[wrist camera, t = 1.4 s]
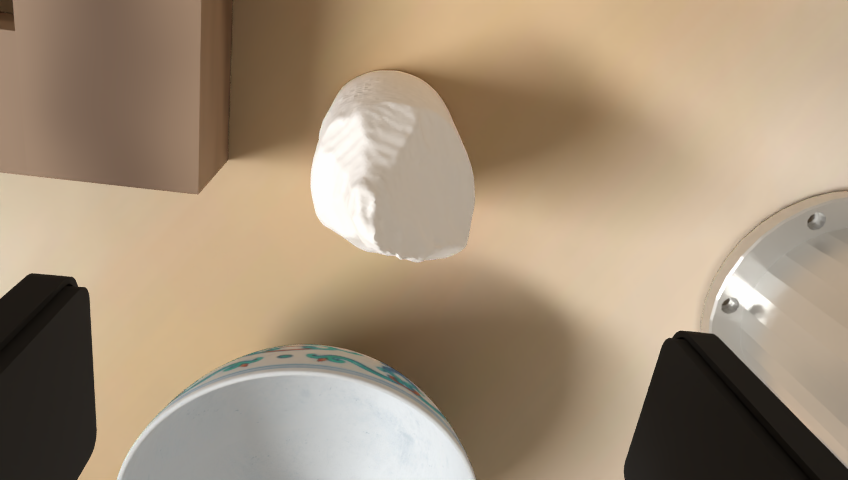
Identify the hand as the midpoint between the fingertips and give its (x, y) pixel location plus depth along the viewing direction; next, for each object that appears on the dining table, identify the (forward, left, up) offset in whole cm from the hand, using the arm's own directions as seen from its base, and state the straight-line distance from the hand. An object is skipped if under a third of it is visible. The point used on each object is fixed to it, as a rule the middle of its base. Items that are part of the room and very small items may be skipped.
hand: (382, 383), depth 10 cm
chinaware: (+2, +15, -20) cm, 25 cm away
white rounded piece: (0, 0, -20) cm, 20 cm away
